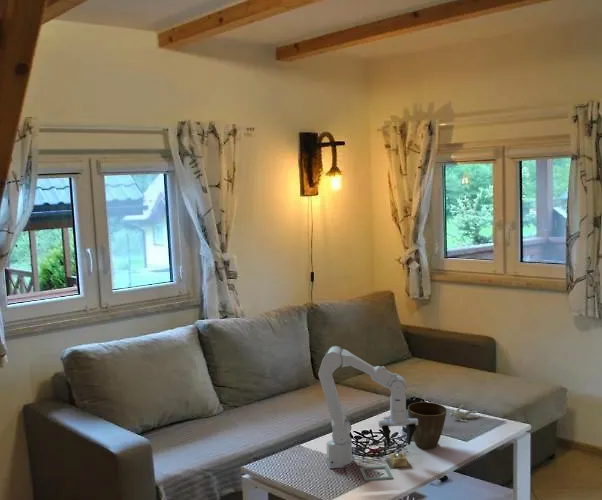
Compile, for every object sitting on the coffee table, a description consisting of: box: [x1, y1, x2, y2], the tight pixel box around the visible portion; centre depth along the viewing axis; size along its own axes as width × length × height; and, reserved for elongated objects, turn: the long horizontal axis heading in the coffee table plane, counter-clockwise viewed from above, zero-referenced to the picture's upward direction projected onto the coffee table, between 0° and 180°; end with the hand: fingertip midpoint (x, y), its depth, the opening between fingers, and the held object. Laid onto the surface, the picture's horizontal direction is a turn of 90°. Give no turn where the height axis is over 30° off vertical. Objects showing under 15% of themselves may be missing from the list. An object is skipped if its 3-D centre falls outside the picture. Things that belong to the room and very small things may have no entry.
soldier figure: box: [449, 404, 479, 423], centre depth 308 cm, size 8×5×12 cm
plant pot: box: [407, 401, 448, 450], centre depth 278 cm, size 15×15×16 cm
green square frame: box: [359, 465, 394, 482], centre depth 255 cm, size 10×10×2 cm
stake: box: [385, 454, 413, 470], centre depth 262 cm, size 8×8×4 cm
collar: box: [389, 452, 408, 467], centre depth 262 cm, size 5×5×3 cm
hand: (398, 444), depth 262 cm, fingers open, 7 cm apart
